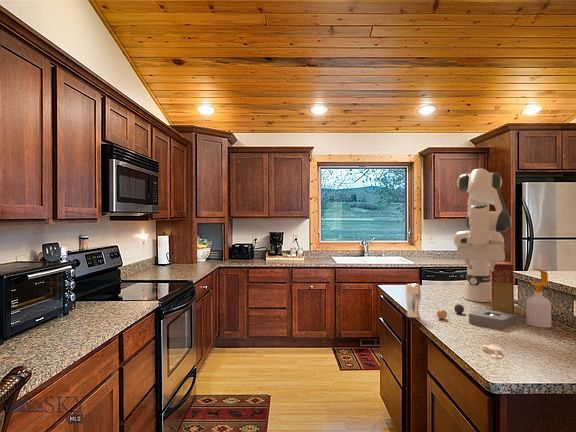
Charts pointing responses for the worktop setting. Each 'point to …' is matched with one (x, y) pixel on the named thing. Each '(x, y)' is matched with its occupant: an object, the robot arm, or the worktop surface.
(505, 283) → the food packaging
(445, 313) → the terracotta ball
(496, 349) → the brush
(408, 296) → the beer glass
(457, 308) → the black rubber ball
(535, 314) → the soap bottle
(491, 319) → the housing
